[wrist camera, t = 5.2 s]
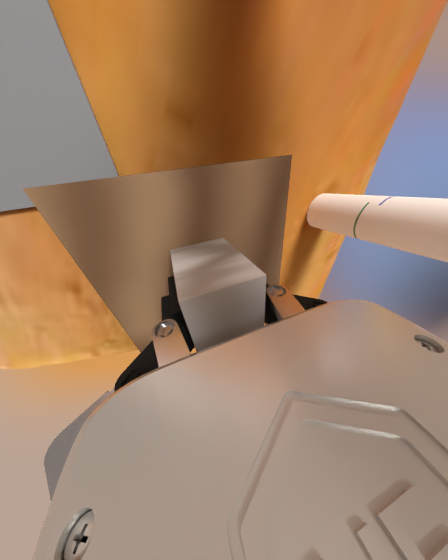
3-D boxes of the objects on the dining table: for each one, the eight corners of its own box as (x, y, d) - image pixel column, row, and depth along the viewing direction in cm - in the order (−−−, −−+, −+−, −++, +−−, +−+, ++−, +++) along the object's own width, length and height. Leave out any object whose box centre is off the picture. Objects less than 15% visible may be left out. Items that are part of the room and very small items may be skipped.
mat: (45, -5, 14) (42, -10, 14) (125, 193, 23) (125, 193, 23) (-230, -33, 11) (-245, -42, 10) (-13, 213, 20) (-16, 214, 19)
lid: (280, 157, 12) (401, 132, 6) (270, 305, 20) (315, 356, 14) (38, 187, 8) (-232, 200, 3) (147, 350, 17) (141, 438, 11)
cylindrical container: (333, 214, 38) (527, 246, 18) (310, 233, 39) (476, 284, 18) (330, 186, 34) (577, 186, 14) (303, 206, 35) (509, 235, 14)
